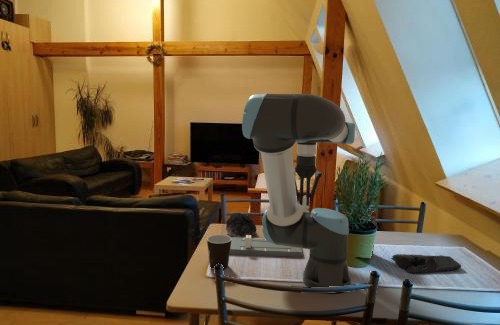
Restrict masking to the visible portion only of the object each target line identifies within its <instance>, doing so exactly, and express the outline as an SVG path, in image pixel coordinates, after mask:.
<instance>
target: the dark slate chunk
mask: <svg viewBox="0 0 500 325" xmlns="http://www.w3.org/2000/svg"><path fill="white" fill-rule="evenodd" d="M390 259H391V260H392V261H393V262H394V263H395V265H396V266H398V267H399V268H400V269H402V270H404V272H405V271H406V272H407V273H409V274H412V275H415V274H429V273H430V274H431V273H432V274H433V273H437V272H450V271H453V270H459V269H461V268H462V265H461V263H459V262H458V261H456V260H455V259H454V258H453V257H451V256H448V255H442V254H441V255H425V254H423V255H422V254H407V253H406V254H404V253H403V254H401V253H400V254H399V253H398V254H393V255H392V257H391V258H390ZM415 267H416V268H415Z"/></svg>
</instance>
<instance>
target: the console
mask: <svg viewBox="0 0 500 325" xmlns="http://www.w3.org/2000/svg"><path fill="white" fill-rule="evenodd" d="M231 238H232V240H231V247H230V255H238V256H239V255H240V256H241V255H243V256H266V257H267V256H268V257H289V258H290V257H292V258H303V248H297V247H290V246H283V245H276V244H273V243H269V242H268V241H267V240H266V239H265V238H256V237H251V248H245V247H246V237H244V238H236V237H233V236H231Z"/></svg>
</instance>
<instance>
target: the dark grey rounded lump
mask: <svg viewBox="0 0 500 325" xmlns="http://www.w3.org/2000/svg"><path fill="white" fill-rule="evenodd" d="M225 222H226V225H225V226H226V228H225V230H226V233H227V236H230V237H236V238H244V237H245V238H246V235H251V237H252V236H254V235H256V234H257V225H256V223H255V221H254V219H253V218H252V217H249V215H247V214H243V213H241V212H232V213H231V214H230V216H229V217H228V218H227V220H226V221H225Z"/></svg>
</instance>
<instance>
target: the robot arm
mask: <svg viewBox="0 0 500 325" xmlns="http://www.w3.org/2000/svg"><path fill="white" fill-rule="evenodd" d="M241 120H242V121H241V131H242V135H243V137H245V138H246V139H248V140H251V139H252V143H253V147H254V148H255V149H256V151H258V152H260V156H261V161H262V162H261V163H262V168H263V172H264V173H263V174H264V179H265V185H266V190H267V197H268V203H269V206H268V207H267V208H266V209H265V211H264V213H263V216H262V221H261V222H262V223H261V224H262V235H263V237H264V239H266V240H267V241H268V242H269V243H273V244H276V245H283V246H290V247H297V248H301V249H306V250H309V256H308V260H307V262H306V265H305V267H304V270H303V274H302V281H303V283H304V285H306V286H307V287H308V288H309V287H329V286H344V285H351V286H352V277H351V273H350V270H349V266H348V262H347V259H348V258H347V256H348V241H349V239H348V238H349V233H350V230H349V218H348V217H347V216H346V215H345V214H343V213H342V212H339V211H337V210H334V209H330V208H323V207H315V208H312V209H311V212H307V206H309V205H310V198H311V197H315V194H316V192H317V187H318V184H319V181H320V179H321V177H322V175H323V173H322V172H321V171H318V170H317V166H316V160H317V158H316V155H317V143H318V144H322V143H323V144H336V145H337V144H339V145H340V144H341V145H353V144H354V142H355V137H356V124H355V123H354V122H348V121H346V116H345V113H344V111H343V110H342V108H341V107H340V106H339V105H338V104H336V103H335V102H333V101H332V100H329V99H328V98H325V97H323V96H319V95H315V94H313V93H267V92H265V93H258V94H257V93H256V94H252V95H250V96H249V98H248V99H247V100H246V103H245V105H244V109H243V113H242V119H241ZM295 144H296V154H297V155H296V160H295V161H296V163H295V167H294V158H293V149H292V148H294V147H295ZM296 175H297V176H298V177H299V190H298V185H297V179H296V177H295V176H296ZM314 175H315V177H314V179H313V184H312V188H311V178H313V176H314ZM305 179H306V181H305ZM304 181H305V182H304ZM304 183H306V184H304ZM305 185H306V186H305ZM304 186H305V187H306V189H305V195H304ZM297 197H299V201H298V198H297Z"/></svg>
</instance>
